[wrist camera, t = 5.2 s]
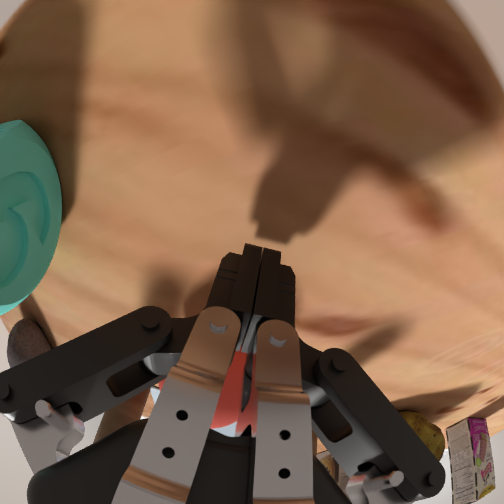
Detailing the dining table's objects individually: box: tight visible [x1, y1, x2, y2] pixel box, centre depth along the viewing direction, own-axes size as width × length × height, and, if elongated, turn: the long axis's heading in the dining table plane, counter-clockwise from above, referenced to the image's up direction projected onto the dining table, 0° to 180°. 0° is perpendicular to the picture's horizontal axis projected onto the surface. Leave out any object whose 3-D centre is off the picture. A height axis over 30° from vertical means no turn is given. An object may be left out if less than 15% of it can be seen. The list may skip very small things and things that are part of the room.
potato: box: [399, 411, 445, 461], centre depth 21 cm, size 8×13×8 cm, turn 48°
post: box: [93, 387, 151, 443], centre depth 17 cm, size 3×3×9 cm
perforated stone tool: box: [7, 319, 51, 368], centre depth 22 cm, size 15×5×7 cm, turn 154°
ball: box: [159, 347, 247, 429], centre depth 15 cm, size 6×6×6 cm
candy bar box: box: [446, 418, 495, 504], centre depth 23 cm, size 11×5×16 cm, turn 62°
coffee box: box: [316, 450, 352, 503], centre depth 29 cm, size 9×6×16 cm
